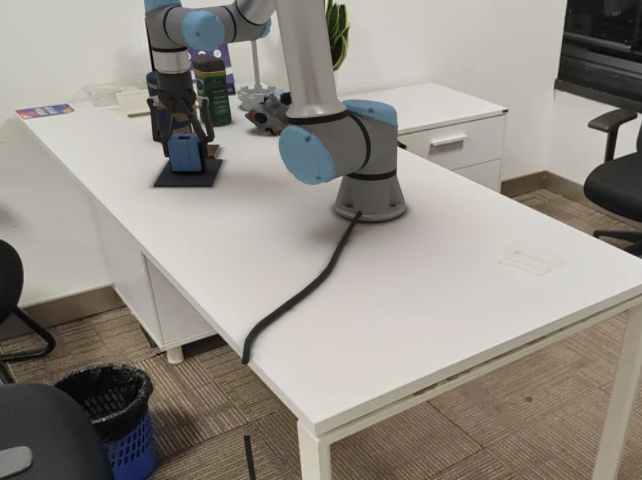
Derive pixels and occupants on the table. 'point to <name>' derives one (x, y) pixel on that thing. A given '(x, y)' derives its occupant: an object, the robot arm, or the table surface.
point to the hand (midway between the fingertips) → (189, 169)
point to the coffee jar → (212, 87)
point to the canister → (179, 120)
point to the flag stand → (257, 93)
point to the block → (184, 152)
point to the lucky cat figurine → (271, 112)
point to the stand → (212, 147)
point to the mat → (189, 176)
